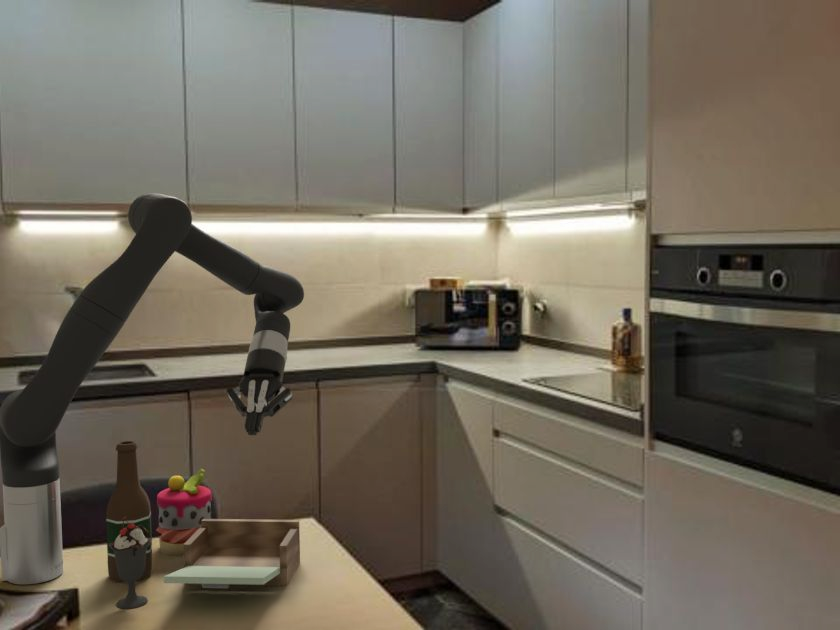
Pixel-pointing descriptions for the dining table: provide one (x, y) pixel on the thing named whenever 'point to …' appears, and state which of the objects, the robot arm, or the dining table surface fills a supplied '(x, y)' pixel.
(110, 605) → the dining table surface
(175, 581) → the pale green panel
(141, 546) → the sundae
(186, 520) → the cake
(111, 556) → the beer bottle
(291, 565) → the wooden box
